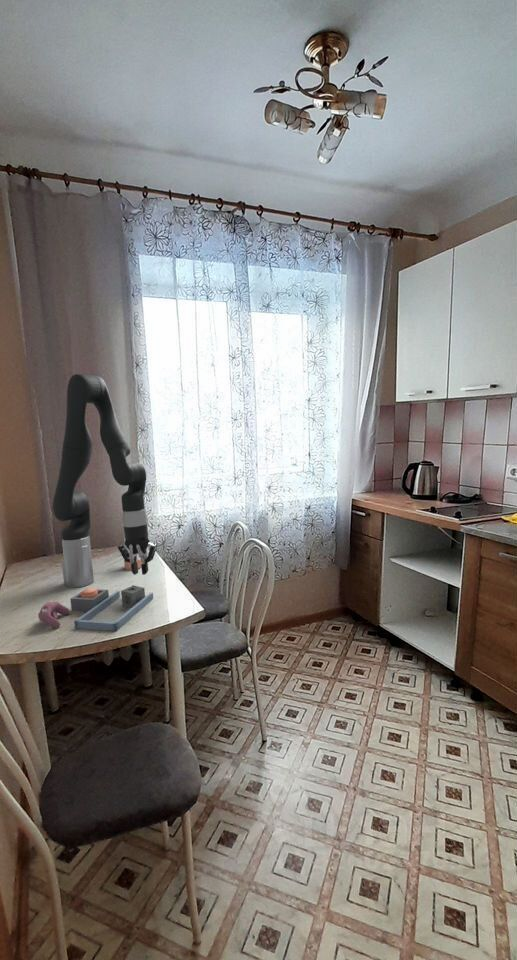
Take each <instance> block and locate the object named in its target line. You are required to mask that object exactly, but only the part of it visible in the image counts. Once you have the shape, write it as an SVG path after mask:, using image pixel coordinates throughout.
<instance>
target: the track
mask: <svg viewBox="0 0 517 960" xmlns="http://www.w3.org/2000/svg"><path fill="white" fill-rule="evenodd" d="M120 597H121V590H117V591H115V592H113V593H112V594H111V595H110V594H109V597H108V598H106V599H105V600H103V601H102V602H101V603H99V604H98V605H96V606H95V607H94V608H92V609H91V610H89V611H88V612H84V614H82V615H81V616H80V617H78V618H77V619H75V620H74V628H75V629H85V630H86V629H87V630H88V629H89V630H98V631H99V630H102V631H113V632H115V631H116V632H117V631H118V630H119V629H120V628H121V627H124V625H125V624H126V623H128V622H129V620H131V618H133V617H134V616H136V615H137V614H138V613H139V612H140V611H141V610H142V609H143V608H145V607H146V606H147V605H148V604H149V603H150V602H152V601H153V599H154V593H153V592H149V593H148V594H147V595H145V597H144V598H143V599H142V600H141V601H139V602H138V603H137V604H136V605H135V606H133V607H132V608H129V609H128V610H127V611H126V612H125V613H123V614H122V615H121V616H120V617H119V618H118V619H117V620H115V621H103V620H92V619H93V618H94V617H95V616H97V615H98V614H100V613H101V612H102V611H104V609H106V608H107V607H109V606H110V605H111V604H113V603H114V602H116V600H118V599H119V598H120ZM146 604H147V605H146Z"/></svg>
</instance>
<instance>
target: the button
mask: <svg viewBox="0 0 517 960" xmlns="http://www.w3.org/2000/svg"><path fill="white" fill-rule="evenodd" d="M85 589H86V590H85ZM85 589H83V590H84V591H83V590H82V591H83V592H82V591H80V592H81V598H94V597H95V596H97V595H98V590H97V589H98V588H92V587H91V588H85Z"/></svg>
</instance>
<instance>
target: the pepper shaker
mask: <svg viewBox="0 0 517 960" xmlns="http://www.w3.org/2000/svg"><path fill="white" fill-rule="evenodd" d="M120 527H121V531H123V532H124V526H123V523H122V524H121V526H120ZM123 537H124V538H123V539H124V541H125V540H126V539H125V536H124V535H123ZM127 550H128V552H129V549H128V548H127ZM136 562H137V564H138V569H142V568H141V564H142V563H141V558H140V557H139V554H138V555H137V561H136ZM123 564H124V565H123V566H124V569H125V570H128V571H130V570H131V564H130V563H129V562H125V560H124V559H123ZM131 571H132V570H131Z"/></svg>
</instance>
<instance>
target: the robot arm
mask: <svg viewBox="0 0 517 960" xmlns="http://www.w3.org/2000/svg"><path fill="white" fill-rule="evenodd" d="M66 391H67V392H66V419H65V426H64V427H65V429H64V438H63V443H62V451H61V461H60V468H59V474H58V480H57V484H56V487H55V492H54V496H53V500H52V501H53V502H52V511H53V515H54V517H55V519H57V521H61V522H65V521H66V522H67V521H70V522H69V523H68V525H66V527H65V528H63V529H62V530H61V533H60V537H61V546H62V552H63V558H62V559H61V569H62V579H63V584H64V585H63V586H67V587H69V588H81V587H86V586H88V585H91V584H92V583H94V581H95V577H94V570H93V569H94V567H93V557H92V550H91V549H92V548H91V540H90V539H91V538H90V529H91V512H90V510H91V509H90V502H89V499H88V497H87V495H86V494H85V493H84V492H82V491H75V489H76V485H77V484H78V481H79V480H80V478H81V476H82V475H83V474H84V472H85V471H86V470H87V468H88V466H89V464H90V462H91V458H92V453H93V444H94V443H93V437H92V435H91V432H90V430H89V428H88V426H87V423H86V422H87V421H86V409H87V404H93V405H94V407H95V408H96V411H97V412H98V415H99V419H100V421H99V434H100V435H99V436H100V439H101V442H102V444H103V447H104V448H105V451H106V453H107V455H108V457H109V458H108V459H109V463H110V467H111V469H110V470H111V474H112V477H113V479H114V480H115V482H116V483H117V484H118V485H120V486H122V487H123V486H125V487H126V486H128V487H127V491H125V492H124V493H122V495H121V508H122V509H121V510H122V524H123V526H124V531H123V537H124V536H125V539H126V540H124V543H123V544H121V545H118V546H117V548H118V551H119V552H120V554H121V557H122V558H123V561H124V560H125V562H129V563H130V564H131V573H132V574H133V575H134V576H135V575H137V574H138V573H139V568H138V564H137V562H136V561H137V555H138V554H139V557H140V558H141V563H142V564H141V568H140V569H141V575H142V576H143V575H144V576H145V575H146V574H148V572H149V563H150V562H151V561H153V560H154V557H155V554H156V552H157V548H158V544H156V543H154V544H153V543H152V542H150V539H149V528H148V519H147V512H146V509H145V507H146V506H145V499H144V495H145V490H146V482H147V471H146V468H145V467H144V465H143V464H142V463H140V462H138V461H137V462H136V461H135V462H133V461H132V462H128V461H127V457H128V456H129V455H130V454H131V448H130V445H129V443H128V442H127V439H126V437H125V436H124V433H123V431H122V429H121V427H120V424H119V422H118V419H117V415H116V412H115V409H114V405H113V402H112V399H111V396H110V392H109V389H108V386H107V384H106V382H105V381H104V379H103V378H102V377H100V376H99V375H95V374H94V375H93V374H85V373H84V374H83V373H75V374H73V375H72V376H71V377H70V378H69V380H68V383H67V389H66ZM127 548H128V549H129V552H128V550H127ZM147 549H148V551H147Z"/></svg>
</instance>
